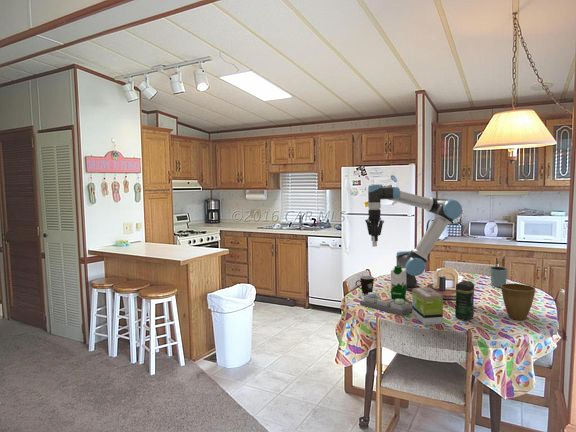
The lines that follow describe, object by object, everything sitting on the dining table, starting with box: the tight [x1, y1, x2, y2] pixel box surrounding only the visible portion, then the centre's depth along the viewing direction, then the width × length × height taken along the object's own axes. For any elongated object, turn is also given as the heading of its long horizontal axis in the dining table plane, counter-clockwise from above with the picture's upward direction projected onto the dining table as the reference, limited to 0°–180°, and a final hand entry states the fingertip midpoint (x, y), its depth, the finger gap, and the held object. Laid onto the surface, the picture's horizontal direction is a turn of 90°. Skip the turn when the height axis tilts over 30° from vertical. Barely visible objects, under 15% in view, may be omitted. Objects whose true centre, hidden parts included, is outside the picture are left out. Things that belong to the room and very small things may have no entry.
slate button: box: [367, 291, 377, 298], centre depth 227 cm, size 5×5×2 cm
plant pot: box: [500, 283, 536, 321], centre depth 199 cm, size 15×15×16 cm
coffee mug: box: [355, 275, 375, 295], centre depth 250 cm, size 12×9×10 cm
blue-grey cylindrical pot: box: [489, 266, 508, 288], centre depth 257 cm, size 10×10×12 cm
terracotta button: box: [381, 297, 391, 302], centre depth 220 cm, size 5×5×2 cm
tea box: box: [411, 287, 444, 326], centre depth 199 cm, size 15×10×15 cm, turn 5°
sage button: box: [394, 299, 405, 305], centre depth 213 cm, size 5×5×2 cm
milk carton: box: [390, 265, 407, 301], centre depth 235 cm, size 9×9×20 cm
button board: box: [359, 294, 412, 317], centre depth 220 cm, size 28×10×4 cm, turn 41°
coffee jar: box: [454, 280, 475, 321], centre depth 201 cm, size 10×8×19 cm
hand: (374, 246), depth 249 cm, fingers closed
